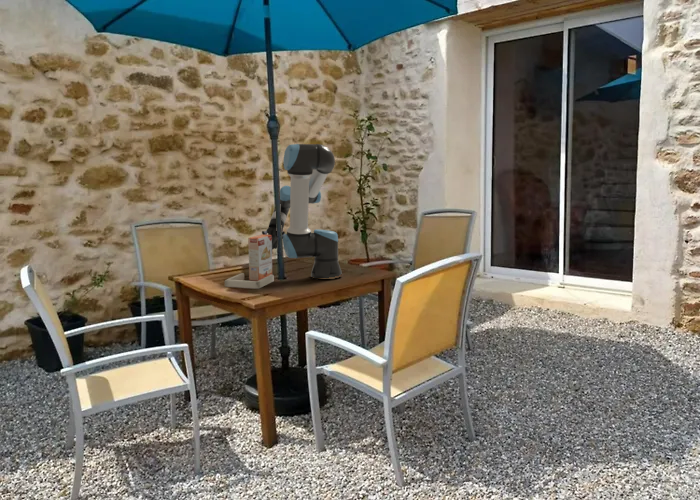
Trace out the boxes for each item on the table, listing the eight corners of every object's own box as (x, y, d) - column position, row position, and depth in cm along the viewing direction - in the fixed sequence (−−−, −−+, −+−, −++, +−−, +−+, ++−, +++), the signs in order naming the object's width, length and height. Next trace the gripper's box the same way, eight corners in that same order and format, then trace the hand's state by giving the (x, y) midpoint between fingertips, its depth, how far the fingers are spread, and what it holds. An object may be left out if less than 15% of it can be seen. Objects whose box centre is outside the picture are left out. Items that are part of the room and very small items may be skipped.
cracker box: (259, 281, 279) (258, 238, 276) (248, 280, 281) (247, 237, 278) (273, 276, 292) (272, 234, 289) (262, 275, 294) (261, 233, 291)
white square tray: (274, 281, 281) (273, 274, 280) (258, 288, 264) (258, 282, 264) (241, 279, 285) (241, 273, 285) (224, 286, 269) (224, 280, 269)
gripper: (291, 226, 308) (279, 263, 295) (268, 226, 312) (255, 262, 299) (286, 217, 302) (274, 255, 289) (263, 217, 306) (250, 254, 293)
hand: (265, 259), depth 294 cm, fingers closed
